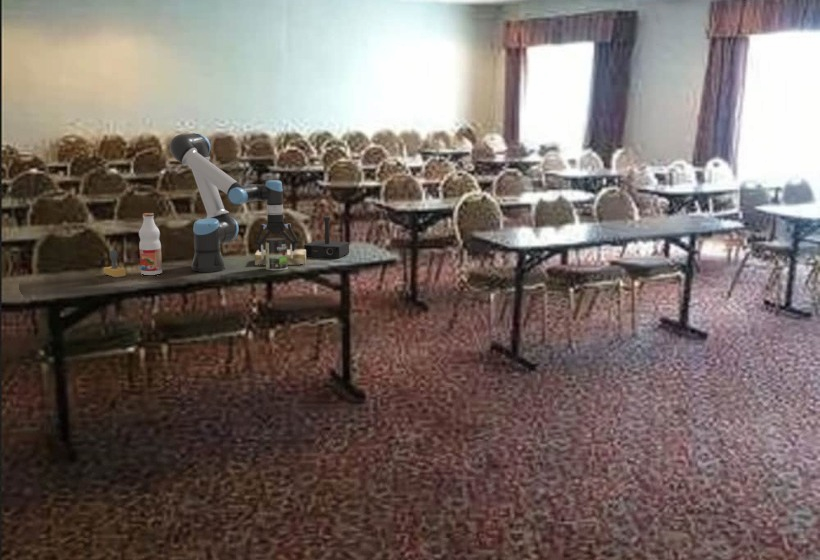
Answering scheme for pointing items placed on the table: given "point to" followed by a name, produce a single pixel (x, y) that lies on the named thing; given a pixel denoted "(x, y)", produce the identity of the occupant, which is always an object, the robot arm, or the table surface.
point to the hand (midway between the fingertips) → (277, 258)
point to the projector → (327, 246)
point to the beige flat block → (297, 259)
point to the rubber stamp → (114, 266)
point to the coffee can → (276, 253)
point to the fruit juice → (150, 246)
